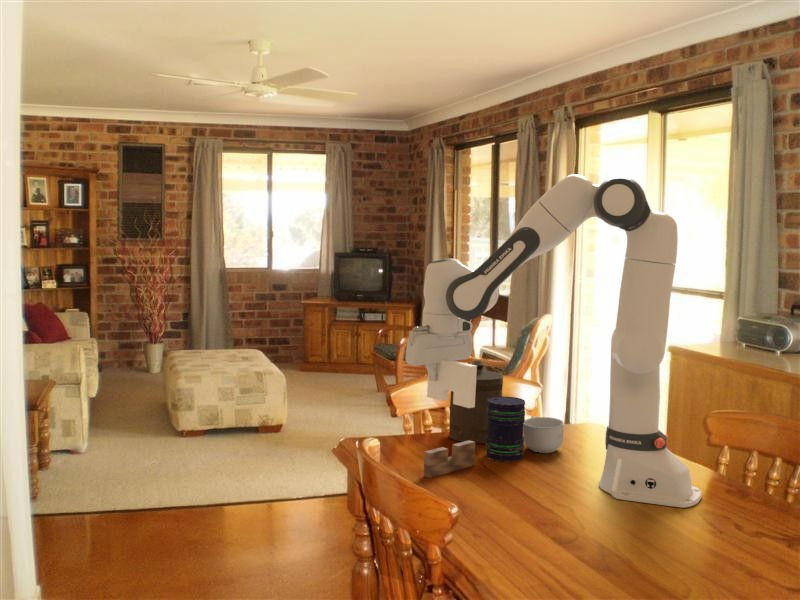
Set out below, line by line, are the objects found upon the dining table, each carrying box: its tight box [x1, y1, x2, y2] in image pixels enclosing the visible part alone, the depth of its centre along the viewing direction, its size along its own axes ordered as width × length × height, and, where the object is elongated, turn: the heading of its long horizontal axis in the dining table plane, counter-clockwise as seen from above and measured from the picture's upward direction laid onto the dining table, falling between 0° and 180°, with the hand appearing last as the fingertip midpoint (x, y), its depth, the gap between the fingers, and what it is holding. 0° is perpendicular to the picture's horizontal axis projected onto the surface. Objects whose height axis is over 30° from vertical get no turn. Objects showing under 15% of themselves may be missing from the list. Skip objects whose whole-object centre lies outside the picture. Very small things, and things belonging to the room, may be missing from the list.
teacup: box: [523, 415, 565, 454], centre depth 222 cm, size 14×11×8 cm
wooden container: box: [448, 360, 504, 445], centre depth 232 cm, size 15×15×22 cm
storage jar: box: [485, 395, 526, 462], centre depth 213 cm, size 10×10×15 cm
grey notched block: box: [423, 440, 476, 479], centre depth 201 cm, size 16×2×6 cm, turn 133°
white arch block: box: [426, 359, 477, 408], centre depth 199 cm, size 14×2×10 cm, turn 44°
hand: (438, 380), depth 202 cm, fingers closed on white arch block, 2 cm apart
